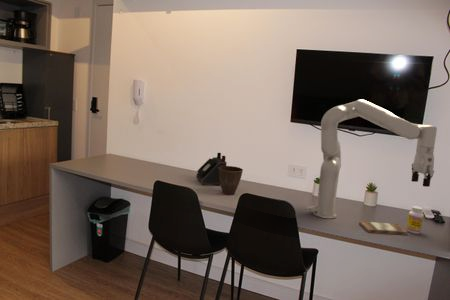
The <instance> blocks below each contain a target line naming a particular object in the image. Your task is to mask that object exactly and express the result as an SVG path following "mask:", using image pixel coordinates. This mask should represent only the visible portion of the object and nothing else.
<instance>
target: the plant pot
mask: <svg viewBox="0 0 450 300" xmlns="http://www.w3.org/2000/svg"><path fill="white" fill-rule="evenodd" d="M243 170H244V169H242V168H241V167H238V166H232V165H226V166H221V167H219V178H220V184H221V185H220V189H221V192H222V194H224V195H226V196H234V195H235V194H236V191H237V189H238V187H239V185H240V182H241V179H242V174H243Z"/></svg>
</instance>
